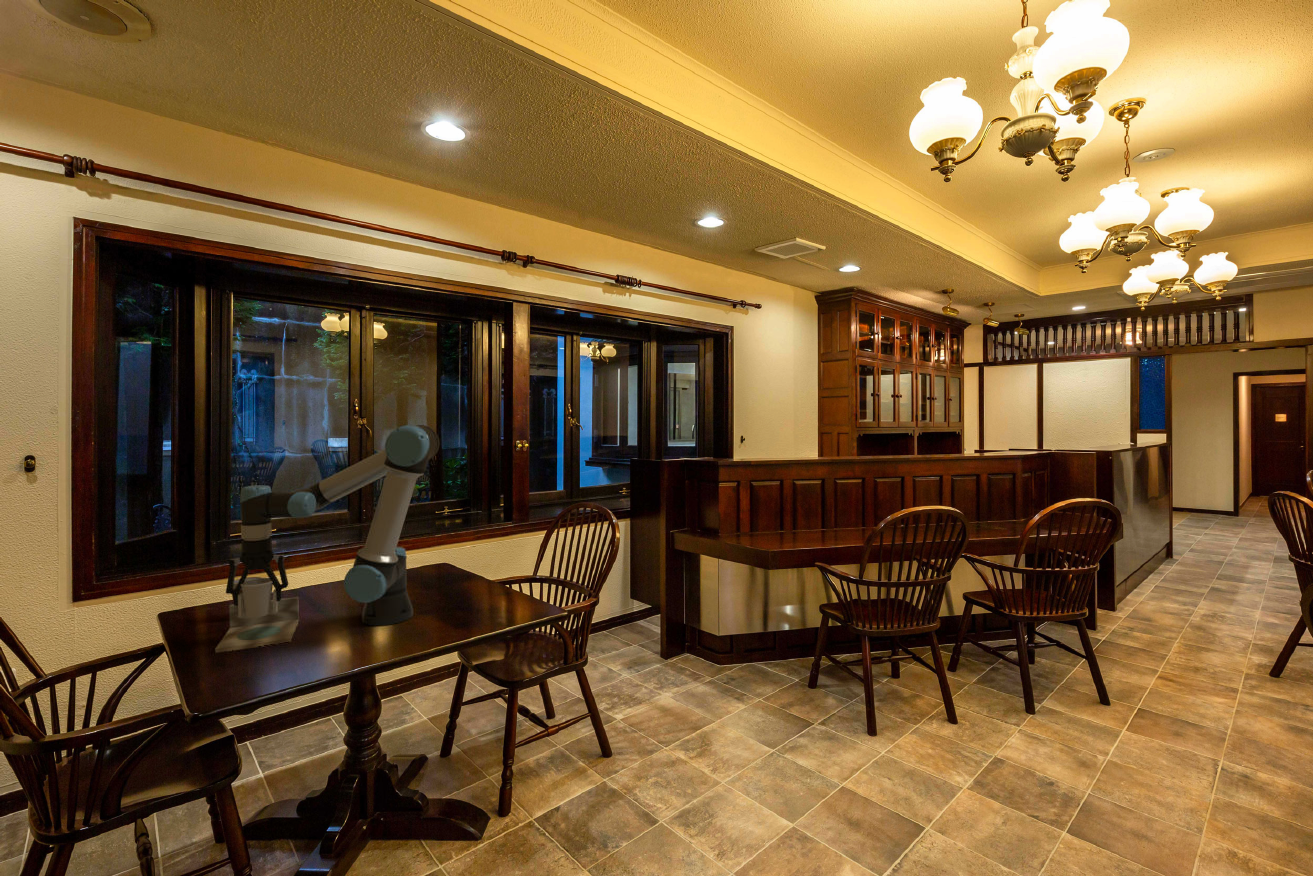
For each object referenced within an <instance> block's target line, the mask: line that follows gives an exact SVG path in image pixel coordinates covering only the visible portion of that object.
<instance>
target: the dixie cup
mask: <svg viewBox="0 0 1313 876" xmlns="http://www.w3.org/2000/svg"><path fill="white" fill-rule="evenodd" d="M241 586H242V592H243V598H244V604H245V610H246V616H247V617H248V618H256V617H262V616H266V615H268V614H269V611H270V603H271V600H272V596H273V587H274V586H273V584H272V581H271V580H270V579H269V577H261V578H256V579H250V580H246V581H245V582H244V583H243V584H241Z"/></svg>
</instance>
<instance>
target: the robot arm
mask: <svg viewBox="0 0 1313 876" xmlns="http://www.w3.org/2000/svg"><path fill="white" fill-rule="evenodd" d="M436 432H437V431H435V430H434V429H433V428H431V427H430V426H429V425H428V426H427V425H424V424H423V425H422V424H416V425H415V424H413V425H412V424H407V425H402V426H399V427H397V428H396V429H394V430H392V431H391V432H390V433H389V435H387V437H386V440H385V442H384V449H381V451H379V452H377V453H374V454H372V455H370V456H368V457H367V458H364V459H362V460H360V461H359V462H356V463H355V464H352V465H351V466H348V467H346V468H344V469H343V470H341V471H339V472H337V473H335V474H332V475H331V476H329V477H326V478H325V479H322V480H320V481H318V482H316V483H314V484H312V485H310V486H308V487H306V488H303V489H299V490H295V491H290V492H272V488H271V486H269V485H265V484H264V485H261V484H260V485H249V486H244V487H241V490H240V500H239V504H240V524H241V525H240V538H241V539H242V540H241V542H240V543H241V544H240V545H241V554H240V555H241V556H239V557H238V558H234V557H232V558H231V559H230V560H228V565H229V571H228V576H227V577H228V579H227V583H226V588H225V594H227V595H231V596H232V595H233V596H234V603H233V604H234V605H235V606H238V617H242V616H243V593H240V590H241V588H242V586H241V584H243V583H244V582H245V580H246V578H247V577H248V575H249V573H250V572H251V571H255V570H264V572H265V574H266V575H267V578H269V579H270V580H271V581H272V584H273V587H274V589H273V590H272V600H273V613H277V611H278V601H280V600H281V599H283V598H282V595H283V594H282V590H283V589H286V588H288V586H289V581H288V576H287V572H286V567H285V564H284V563H285V562H284V560H285V555H284V554H274V552H273V539H272V537H271V536H272V535H273V534H272V531H273V530H272V519H275V518H277V519H278V518H281V519H282V518H283V519H284V518H285V519H286V518H287V519H289V518H291V519H293V518H295V519H301V518H310V517H312V516H314V515H313V514H314V513H315V512H316V511H320V510H321V509H324V508H325V507H327V505H329V504H331V503H333V502H335V501H337V500H339V499H341V498H343V497H346V496H347V495H349V494H351V493H353V492H355V491H358V490H359V489H361V488H363V487H365V486H367V485H370V484H371V483H373V482H375V481H377V480H379V479H381V478H383V477H385V479H384V482H383V485H382V489H381V492H380V495H379V498H378V501H377V503H376V504H377V505H376V507H375V512H374V515H373V518H372V521H371V524H370V528H369V531H368V534H367V539H366V541H365V545H364V547H362V548H361V549H359V550H358V551H357V552H356V555H355V558H354V562H353V565H352V567H351V568H350V569H349V570H348V571H347V572H346V574H345V576H344V579H343V588H344V590H345V592H346V594H347V595H348V596H349V597H350V598H351V599H352V600H354V601H356V602H359V603H365V604H364V608H363V611H362V615H361V620H362V621H361V622H362V624H364V623H365V625H367V624H368V626H387V625H395V624H398V623H402V622H405V621H407V620H409V619H411V618H412V617H413V615H414V608H413V605H412V602H411V600H410V598H409V595H408V591H407V590H408V589H407V587H408V586H407V585H408V584H407V580H408V579H407V553H406V549H405V548H404V547H401V546H398V543H399V539H400V537H401V532H402V529H403V526H404V523H405V520H406V516H407V513H408V510H409V506H410V504H411V499H412V496H413V493H414V489H415V486H416V483H417V481H418V478H419V477H422V476H424V474H425V471H426V468H427V465H428V462H429V460H431V459H433V458H434V457H435V456H436V454H437V453H438V451H439V448H440V438H439V435H438V433H436ZM273 560H275V563H277V568H278V573H279V577H280V581H281V582H280V581H279V579H278V577H277V575H276V574H275V571H274V570H273V568H272V566H271V564H270V563H271V562H272V561H273ZM240 563H242V565H243V566H244V570H243V572H242V573H241V576H240V578H239V579H240V580H239V582H238V584H237V586H236V588H235V589H233V584H234V580H236V579H235V578H236V572H237V567H238V566H239V564H240Z"/></svg>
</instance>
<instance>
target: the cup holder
mask: <svg viewBox="0 0 1313 876" xmlns="http://www.w3.org/2000/svg"><path fill="white" fill-rule="evenodd" d="M298 622H299V623H300V613H299V596H295V597H285V598H281V600H280V601H278V611H277V613H273V599H271V603H270V611H269V614H268V615H266V616H262V617H256V618H248V617H247V616H246V610H245V604H244V603H243V616H242V617H238V606H235V605H234V603H233V604H230V605H229V629H228V630H227V631H226V633H225V634H224V636H223V638H222V639H221V640H220V642H219V643H218V644H217V646H216V647H215V651H214V652H215V654H218V653H225V651H226V652H232V650H233V651H239V650H247V649H254V648H259V647H258V646H261V647H265V646H264V645H269V646H271V645H270V644H276V645H278V644H277V643H283V642H290V643H291V642H292V640H293V638H292V637H294V635H293V634H295V633H296V630H297V628H298V625H299V623H298ZM296 627H297V628H296ZM294 632H295V633H294ZM291 639H292V640H291ZM283 644H284V643H283Z"/></svg>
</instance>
